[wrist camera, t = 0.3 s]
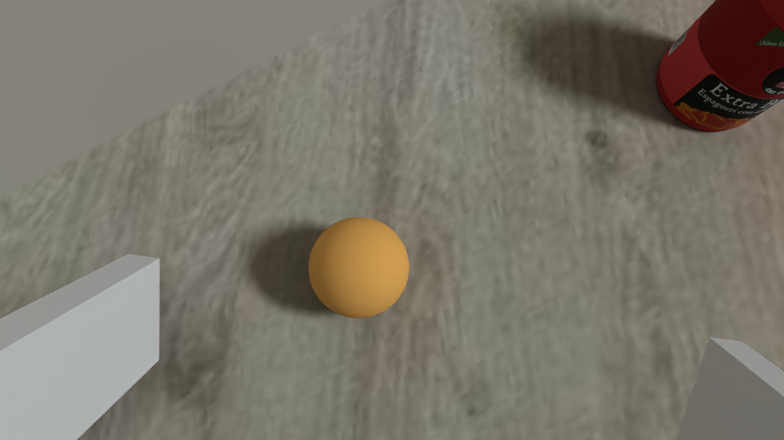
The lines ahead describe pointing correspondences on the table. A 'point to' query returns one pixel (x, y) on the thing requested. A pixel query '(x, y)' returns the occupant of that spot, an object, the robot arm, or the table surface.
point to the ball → (358, 267)
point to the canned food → (726, 65)
